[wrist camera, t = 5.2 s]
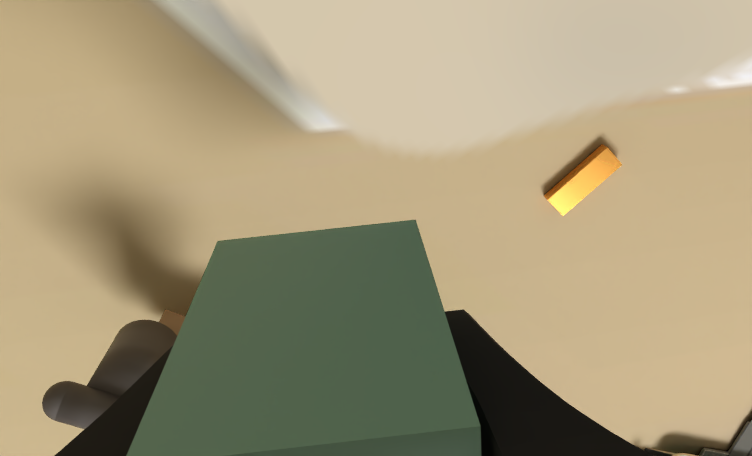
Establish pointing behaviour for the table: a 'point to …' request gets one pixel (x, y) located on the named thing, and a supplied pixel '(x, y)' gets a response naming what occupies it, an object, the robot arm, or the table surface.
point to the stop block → (314, 354)
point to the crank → (113, 371)
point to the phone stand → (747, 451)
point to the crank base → (583, 179)
